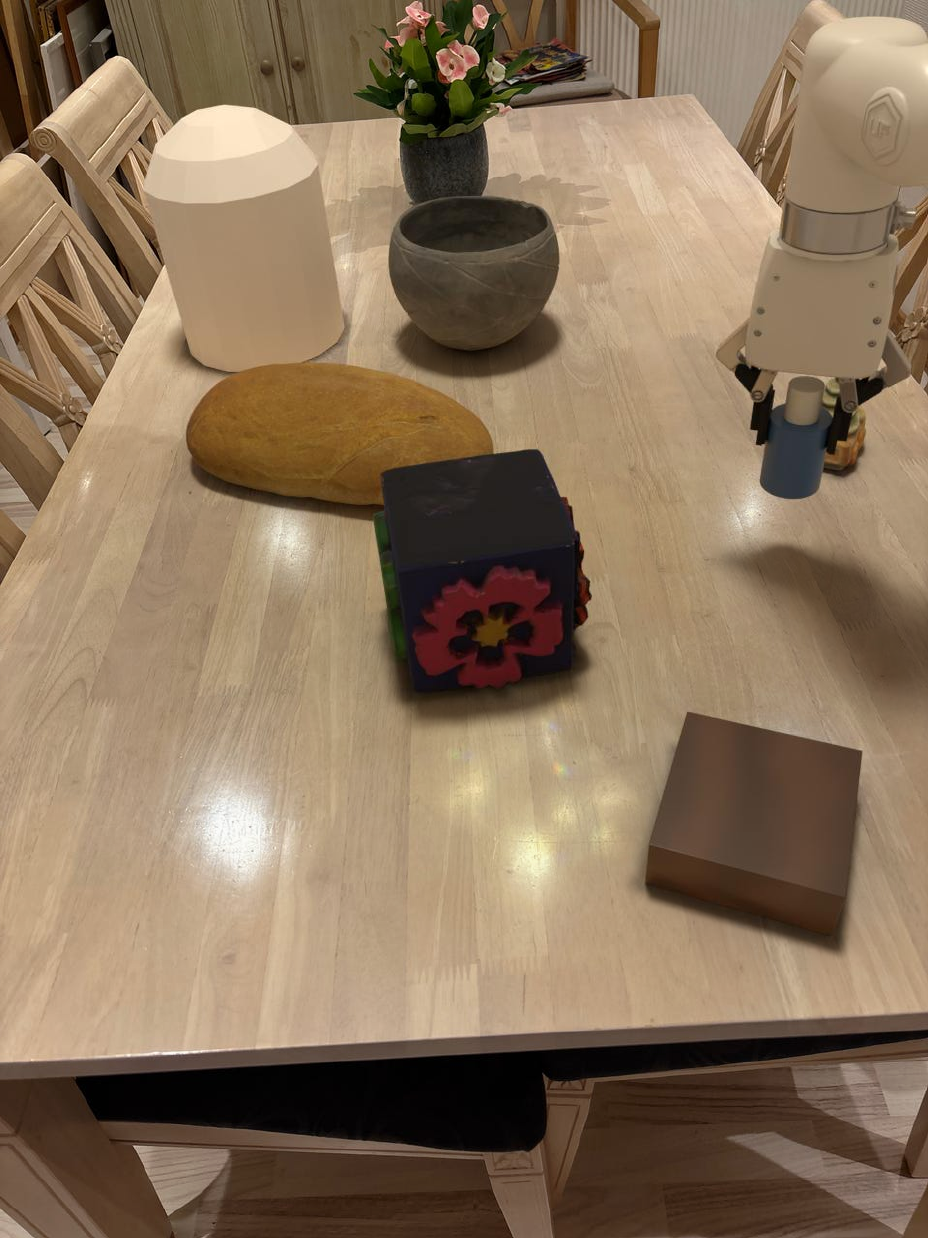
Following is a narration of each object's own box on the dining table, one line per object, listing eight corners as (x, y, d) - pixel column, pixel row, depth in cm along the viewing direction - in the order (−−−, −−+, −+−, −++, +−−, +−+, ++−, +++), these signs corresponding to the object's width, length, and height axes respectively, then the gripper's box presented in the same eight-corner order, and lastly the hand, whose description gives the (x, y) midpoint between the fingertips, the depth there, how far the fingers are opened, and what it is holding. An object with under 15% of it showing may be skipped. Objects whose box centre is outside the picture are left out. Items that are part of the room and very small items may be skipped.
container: (301, 381, 120) (252, 138, 101) (157, 362, 126) (85, 131, 107) (371, 307, 134) (339, 83, 115) (238, 294, 140) (187, 79, 122)
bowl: (528, 386, 115) (525, 261, 105) (369, 364, 122) (352, 245, 112) (580, 309, 129) (581, 193, 119) (434, 294, 136) (424, 183, 126)
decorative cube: (600, 677, 79) (605, 543, 70) (403, 711, 78) (381, 579, 69) (556, 561, 91) (555, 432, 81) (383, 589, 89) (361, 461, 80)
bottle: (822, 471, 85) (842, 372, 79) (816, 503, 82) (836, 402, 75) (764, 463, 87) (779, 366, 80) (755, 494, 83) (770, 395, 77)
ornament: (805, 427, 104) (822, 341, 98) (865, 437, 102) (886, 350, 96) (790, 466, 99) (806, 378, 93) (852, 478, 97) (874, 388, 90)
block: (849, 791, 69) (862, 750, 66) (831, 936, 61) (845, 898, 58) (682, 751, 73) (687, 711, 70) (644, 883, 65) (648, 844, 62)
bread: (466, 535, 95) (459, 448, 88) (162, 485, 105) (135, 403, 98) (522, 437, 107) (519, 353, 100) (246, 400, 117) (226, 322, 111)
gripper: (966, 209, 69) (907, 431, 81) (724, 197, 75) (703, 407, 87) (965, 249, 64) (902, 480, 76) (705, 233, 69) (685, 451, 82)
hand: (796, 439), depth 81 cm, fingers closed on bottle, 5 cm apart
